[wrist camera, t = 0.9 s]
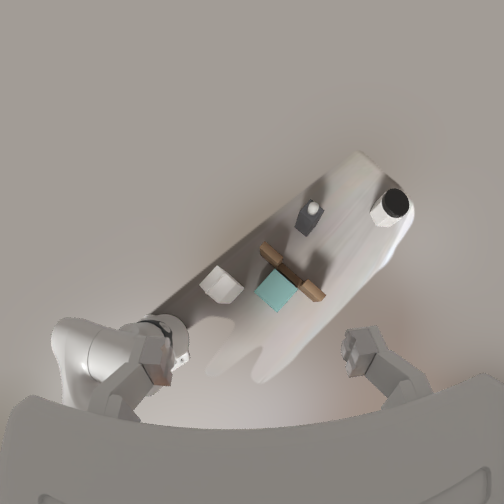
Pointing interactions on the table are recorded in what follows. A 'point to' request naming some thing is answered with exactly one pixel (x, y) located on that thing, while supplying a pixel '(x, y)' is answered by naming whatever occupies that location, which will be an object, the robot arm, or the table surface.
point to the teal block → (275, 290)
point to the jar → (389, 208)
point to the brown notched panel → (291, 273)
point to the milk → (221, 286)
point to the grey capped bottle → (308, 217)
